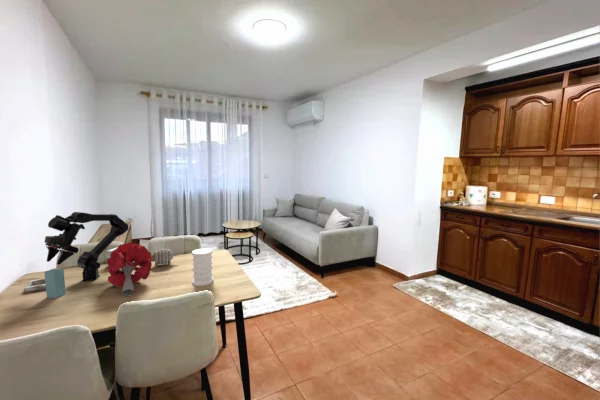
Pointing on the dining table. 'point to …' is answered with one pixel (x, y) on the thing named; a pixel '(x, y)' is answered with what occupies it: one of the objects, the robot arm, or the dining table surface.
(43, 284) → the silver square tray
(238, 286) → the dining table surface
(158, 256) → the toy sheep
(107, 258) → the small box
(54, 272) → the block
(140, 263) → the red model tree
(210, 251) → the decorative container
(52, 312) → the dining table surface
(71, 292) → the dining table surface
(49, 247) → the robot arm
